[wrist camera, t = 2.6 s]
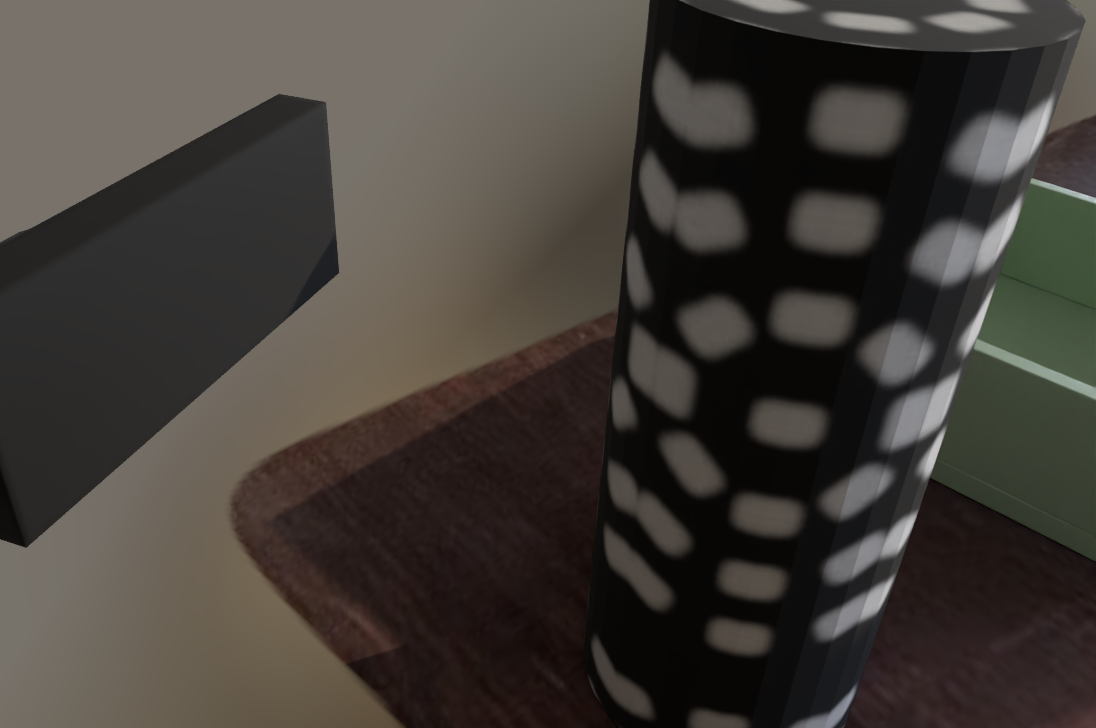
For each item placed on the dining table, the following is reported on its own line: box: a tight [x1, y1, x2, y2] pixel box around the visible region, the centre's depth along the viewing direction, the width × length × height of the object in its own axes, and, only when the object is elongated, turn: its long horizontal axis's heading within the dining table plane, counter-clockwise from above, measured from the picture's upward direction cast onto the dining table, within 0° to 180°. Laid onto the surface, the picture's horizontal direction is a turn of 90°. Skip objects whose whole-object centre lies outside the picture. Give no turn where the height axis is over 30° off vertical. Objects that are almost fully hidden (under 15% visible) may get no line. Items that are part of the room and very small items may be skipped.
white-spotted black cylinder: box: [583, 0, 1085, 728], centre depth 26 cm, size 8×8×20 cm
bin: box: [930, 178, 1096, 562], centre depth 42 cm, size 18×18×6 cm
